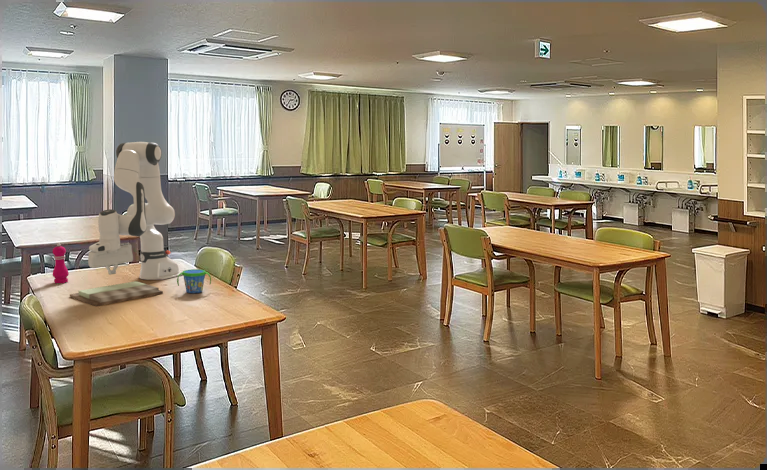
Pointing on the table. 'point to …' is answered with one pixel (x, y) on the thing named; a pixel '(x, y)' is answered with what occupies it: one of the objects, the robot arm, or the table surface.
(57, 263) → the pepper mill
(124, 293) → the floor board
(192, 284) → the snack cup
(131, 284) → the board
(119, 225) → the robot arm
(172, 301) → the table surface
